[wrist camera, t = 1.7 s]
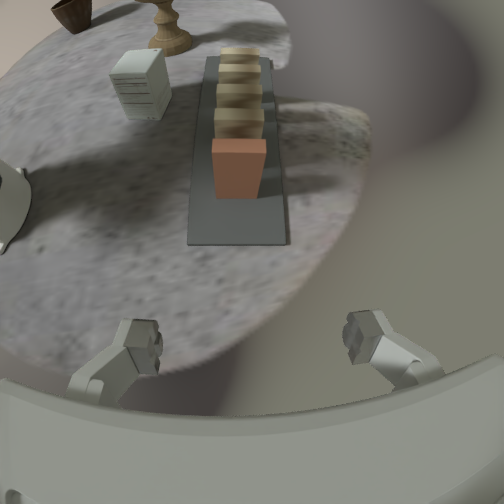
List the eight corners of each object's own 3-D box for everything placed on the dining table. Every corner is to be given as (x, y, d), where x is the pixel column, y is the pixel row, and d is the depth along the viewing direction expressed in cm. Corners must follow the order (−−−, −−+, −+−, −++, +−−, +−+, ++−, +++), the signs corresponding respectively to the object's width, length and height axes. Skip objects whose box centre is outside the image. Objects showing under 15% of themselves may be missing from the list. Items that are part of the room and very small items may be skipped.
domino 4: (217, 170, 41) (214, 119, 29) (217, 159, 42) (214, 108, 30) (255, 170, 42) (264, 120, 30) (255, 159, 42) (263, 109, 30)
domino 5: (216, 198, 40) (211, 152, 28) (216, 186, 40) (212, 138, 29) (256, 198, 40) (266, 153, 29) (256, 187, 41) (265, 139, 29)
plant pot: (58, 45, 52) (45, 14, 36) (68, 29, 55) (57, 0, 40) (95, 29, 54) (85, -5, 38) (102, 14, 57) (94, -16, 42)
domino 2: (219, 122, 44) (218, 71, 32) (220, 114, 44) (219, 64, 32) (254, 123, 44) (260, 72, 32) (253, 115, 44) (260, 64, 33)
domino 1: (220, 103, 45) (220, 54, 33) (221, 96, 45) (221, 47, 34) (253, 104, 45) (259, 54, 34) (253, 97, 46) (259, 48, 34)
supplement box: (140, 95, 46) (126, 49, 33) (173, 95, 46) (164, 47, 34) (126, 120, 44) (107, 74, 31) (160, 121, 44) (146, 71, 32)
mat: (187, 245, 39) (187, 244, 38) (207, 59, 49) (206, 56, 49) (284, 245, 40) (285, 243, 39) (268, 60, 50) (269, 57, 50)
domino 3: (218, 144, 42) (216, 93, 31) (218, 135, 43) (217, 83, 31) (254, 145, 43) (262, 93, 31) (254, 136, 43) (261, 84, 32)
